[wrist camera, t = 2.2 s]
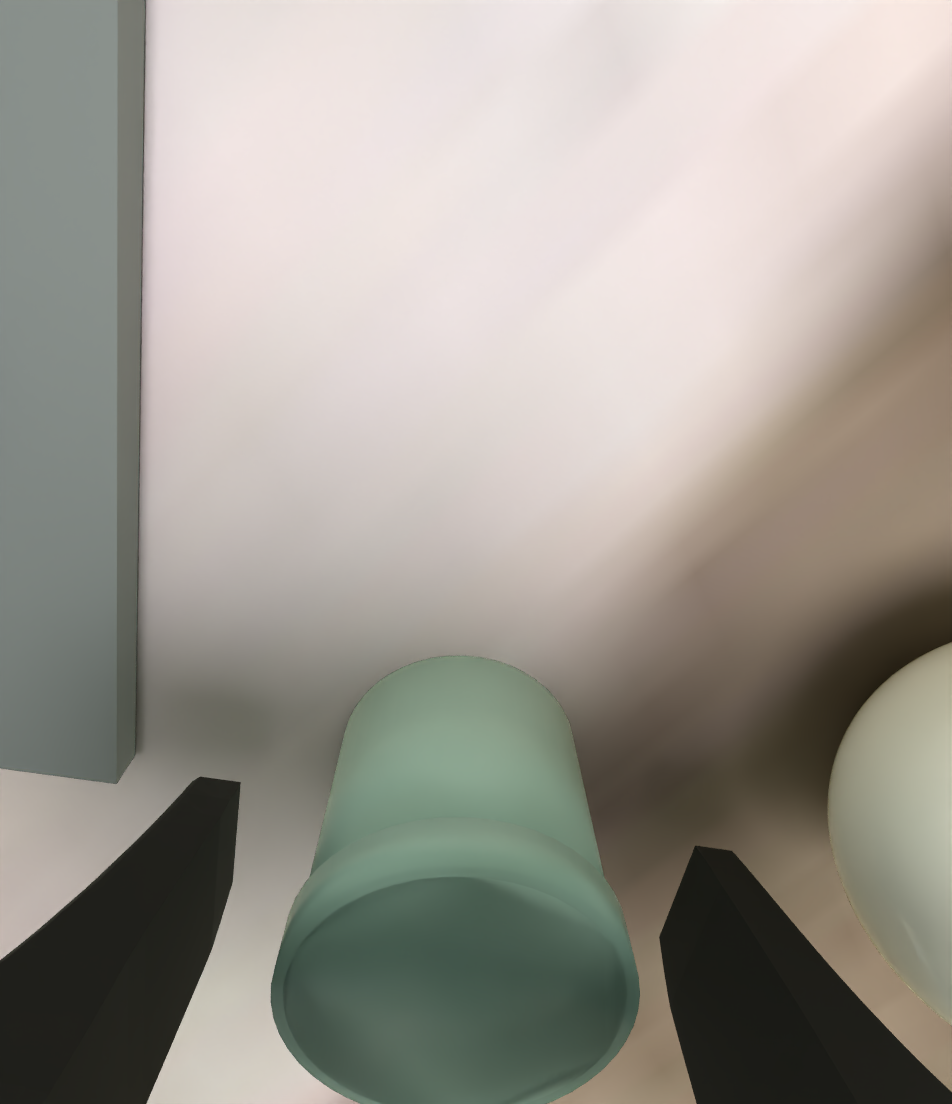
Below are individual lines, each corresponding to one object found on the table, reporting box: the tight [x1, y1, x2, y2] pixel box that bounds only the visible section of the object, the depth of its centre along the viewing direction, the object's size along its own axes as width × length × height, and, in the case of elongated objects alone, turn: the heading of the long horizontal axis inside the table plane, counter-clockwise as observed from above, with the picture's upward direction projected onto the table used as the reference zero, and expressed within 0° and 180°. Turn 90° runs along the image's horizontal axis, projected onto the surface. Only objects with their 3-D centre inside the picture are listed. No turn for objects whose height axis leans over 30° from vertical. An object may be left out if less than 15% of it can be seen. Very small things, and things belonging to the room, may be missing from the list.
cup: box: [271, 656, 640, 1104], centre depth 12 cm, size 5×5×5 cm
